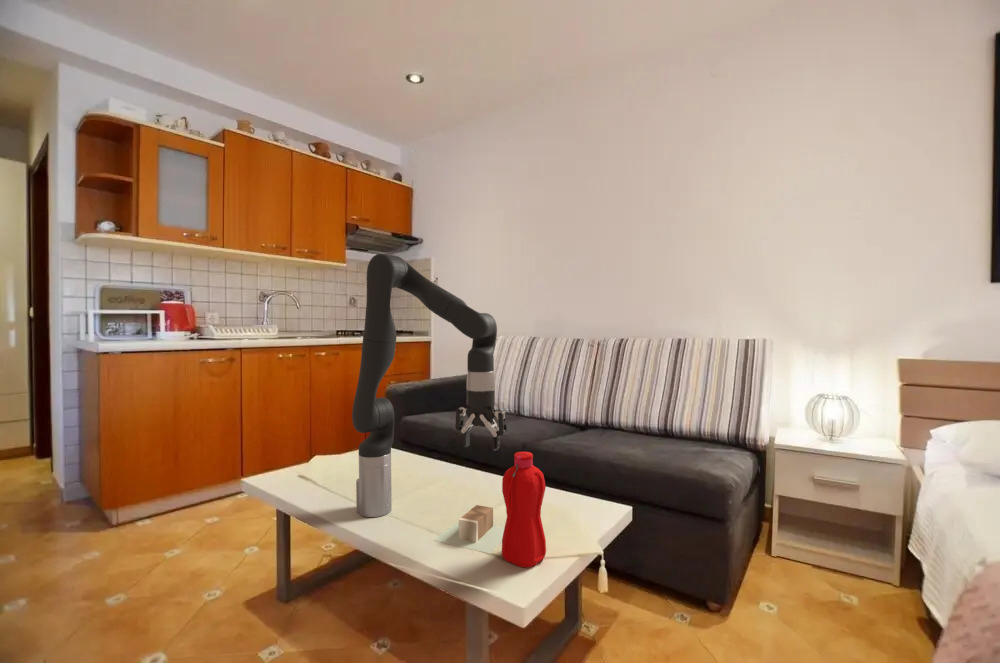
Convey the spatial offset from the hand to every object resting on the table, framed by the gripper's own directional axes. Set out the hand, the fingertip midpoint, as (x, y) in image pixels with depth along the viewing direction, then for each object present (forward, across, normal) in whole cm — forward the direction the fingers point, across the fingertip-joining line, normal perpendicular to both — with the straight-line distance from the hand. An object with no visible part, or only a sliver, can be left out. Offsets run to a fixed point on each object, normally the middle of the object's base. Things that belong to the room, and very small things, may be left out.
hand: (480, 448), depth 122 cm
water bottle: (+22, +16, -10) cm, 29 cm away
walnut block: (+19, 0, +2) cm, 19 cm away
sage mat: (+22, 0, -4) cm, 22 cm away
